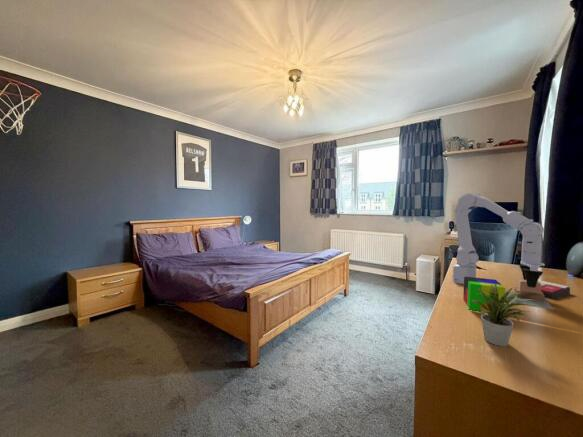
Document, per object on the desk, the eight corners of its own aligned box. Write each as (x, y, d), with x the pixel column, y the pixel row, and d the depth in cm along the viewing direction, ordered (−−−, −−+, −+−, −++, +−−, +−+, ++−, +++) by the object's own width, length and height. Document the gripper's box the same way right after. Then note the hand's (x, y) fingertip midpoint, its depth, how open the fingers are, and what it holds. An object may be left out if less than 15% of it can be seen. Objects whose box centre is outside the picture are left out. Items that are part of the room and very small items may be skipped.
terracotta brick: (520, 290, 100) (520, 281, 100) (518, 288, 104) (518, 279, 103) (540, 293, 97) (541, 284, 97) (538, 291, 100) (538, 281, 100)
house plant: (512, 364, 58) (515, 298, 58) (454, 336, 71) (456, 281, 70) (541, 350, 64) (545, 290, 63) (483, 326, 77) (485, 276, 76)
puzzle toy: (494, 304, 94) (495, 279, 93) (503, 315, 85) (505, 287, 84) (463, 300, 98) (464, 276, 97) (469, 310, 89) (470, 283, 88)
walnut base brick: (516, 296, 100) (517, 291, 100) (514, 292, 105) (514, 287, 105) (544, 301, 96) (544, 295, 96) (540, 296, 100) (540, 290, 100)
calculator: (518, 284, 108) (536, 278, 114) (518, 293, 108) (536, 287, 114) (552, 292, 98) (570, 285, 104) (552, 302, 98) (570, 295, 104)
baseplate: (484, 298, 100) (484, 297, 100) (482, 288, 113) (482, 287, 112) (554, 311, 88) (554, 310, 88) (543, 297, 101) (543, 296, 101)
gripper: (549, 256, 91) (547, 291, 92) (540, 250, 103) (538, 281, 104) (524, 254, 95) (522, 287, 96) (518, 248, 107) (516, 278, 108)
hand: (529, 284), depth 100 cm, fingers open, 7 cm apart
